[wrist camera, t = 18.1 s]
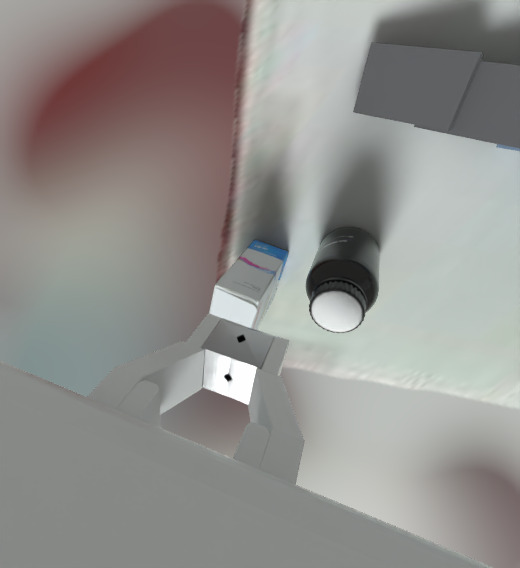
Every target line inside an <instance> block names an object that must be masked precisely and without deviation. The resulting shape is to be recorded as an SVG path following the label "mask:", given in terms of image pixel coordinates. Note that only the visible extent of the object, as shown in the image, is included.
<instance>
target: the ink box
mask: <svg viewBox="0 0 520 568" xmlns="http://www.w3.org/2000/svg"><path fill="white" fill-rule="evenodd" d="M287 257H288V251H285V250H282V249H280V248H277V247H274V246H271V245H269V244H266V243H263V242H260V241H257V240H254V241H253V242H252V243H251V245H250V246H249V247H248V248H247V249H246V250H245V251H244V253H243V254H242V255H241V256H240V257H239V258H238V259H237V261H236V262H235V263H234V264H233V265H232V266H231V267H230V268H229V270H228V271H227V272H226V273H225V274H224V275H223V276H222V277H221V279H220V280H219V281H218V282H217V283H216V285H215V288H214V292H213V297H212V302H211V307H210V312H209V314H212V315H215V316H217V317H220V318H224V319H226V320H229V321H232V322H235V323H238V324H240V325H243V326H246V327H248V328H252V329H255V330H257V329H258V327H259V325H260V323H261V321H262V319H263V317H264V316H265V314H266V312H267V310H268V308H269V306H270V305H271V303H272V301H273V298H274V295H275V292H276V289H277V286H278V283H279V280H280V277H281V275H282V272H283V268H284V266H285V263H286V260H287Z"/></svg>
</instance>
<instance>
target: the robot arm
mask: <svg viewBox="0 0 520 568" xmlns="http://www.w3.org/2000/svg"><path fill="white" fill-rule="evenodd" d="M288 346H289V340H286V339H283V338H280V337H277V336H273V335H270V334H267V333H264V332H261V331H258V330H255V329H252V328H248V327H246V326H243V325H240V324H238V323H235V322H232V321H229V320H226V319H224V318H220V317H217V316H215V315H212V314H208V315H207V316H206V317H205V318H204V319H203V321H202V322H201V323H200V324H199V326H198V327H197V328H196V330H195V331H194V333H193V334H192V335H191V336H190V337H189V339H188V340H187V341H186V343H185V342H182V341H181V342H178V343H176V344H174V345H171V346H168V347H166V348H163V349H160V350H158V351H155V352H153V353H150V354H148V355H145V356H142V357H140V358H137V359H135V360H132V361H130V362H127V363H124V364H122V365H119V366H117V367H115V368H114V369H113V370H112V371H111V372H110V373H109V374H108V375H107V376H106V377H105V378H104V380H102V381H101V383H100V384H99V385H98V386H97V387H96V388H95V389H94V390H93V391H92V392H91V393H90V394H89V395H88V396H87V397H85V396H82V395H80V394H77V393H75V392H73V391H71V390H68V389H66V388H64V387H61V386H59V385H56V384H54V383H52V382H49V381H47V380H44V379H42V378H40V377H37V376H35V375H32V374H30V373H28V372H25V371H23V370H21V369H18V368H16V367H13V366H11V365H8V364H6V363H4V362H1V361H0V568H493V567H491V566H488V565H486V564H484V563H481V562H479V561H477V560H474V559H472V558H470V557H467V556H465V555H462V554H460V553H458V552H455V551H453V550H450V549H448V548H445V547H443V546H441V545H438V544H436V543H434V542H431V541H429V540H426V539H424V538H422V537H419V536H417V535H415V534H412V533H410V532H407V531H405V530H403V529H400V528H398V527H396V526H393V525H391V524H388V523H386V522H384V521H381V520H378V519H376V518H374V517H372V516H369V515H367V514H364V513H362V512H360V511H357V510H355V509H353V508H350V507H348V506H345V505H343V504H341V503H338V502H336V501H333V500H331V499H328V498H326V497H324V496H321V495H319V494H317V493H314V492H312V491H310V490H307V489H305V488H302V487H300V486H298V485H295V484H296V479H297V475H298V470H299V465H300V460H301V456H302V451H303V446H304V439H303V436H302V433H301V430H300V428H299V425H298V422H297V419H296V416H295V414H294V411H293V408H292V405H291V402H290V400H289V396H288V394H287V391H286V388H285V385H284V382H283V380H282V377H280V373H281V370H282V367H283V363H284V360H285V356H286V353H287V349H288ZM202 387H204V388H206V389H209V390H212V391H215V392H218V393H221V394H223V395H226V396H229V397H231V398H233V399H236V400H238V401H241V402H243V403H246V404H248V408H249V414H250V419H251V423H249V424H247V425H246V428H245V430H244V433H243V435H242V438H241V440H240V442H239V445H238V447H237V450H236V452H235V454H234V457H233V458H231V457H228V456H226V455H224V454H221V453H219V452H216V451H214V450H211V449H209V448H207V447H204V446H202V445H200V444H197V443H195V442H192V441H190V440H187V439H185V438H183V437H180V436H178V435H176V434H173V433H171V432H169V431H166V430H164V429H161V419H160V415H161V414H162V413H164V412H165V411H167V410H168V409H170V408H172V407H173V406H175V405H176V404H178V403H180V402H181V401H183V400H184V399H186V398H188V397H189V396H191V395H192V394H194V393H196V392H197V391H199V390H200V389H202Z"/></svg>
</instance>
